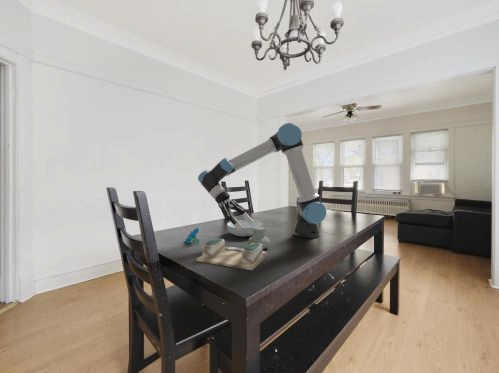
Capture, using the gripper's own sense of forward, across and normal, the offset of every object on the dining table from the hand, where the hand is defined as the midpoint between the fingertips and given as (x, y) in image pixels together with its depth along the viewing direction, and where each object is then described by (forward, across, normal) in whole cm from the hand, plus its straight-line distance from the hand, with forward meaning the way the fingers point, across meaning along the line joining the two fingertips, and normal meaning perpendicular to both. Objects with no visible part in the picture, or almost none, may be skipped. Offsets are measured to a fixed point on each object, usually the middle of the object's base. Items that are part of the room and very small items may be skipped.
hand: (246, 225), depth 117 cm
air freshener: (+12, 0, -3) cm, 13 cm away
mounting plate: (+8, +16, -7) cm, 20 cm away
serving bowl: (0, -20, -15) cm, 26 cm away
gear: (-14, +4, -29) cm, 32 cm away
